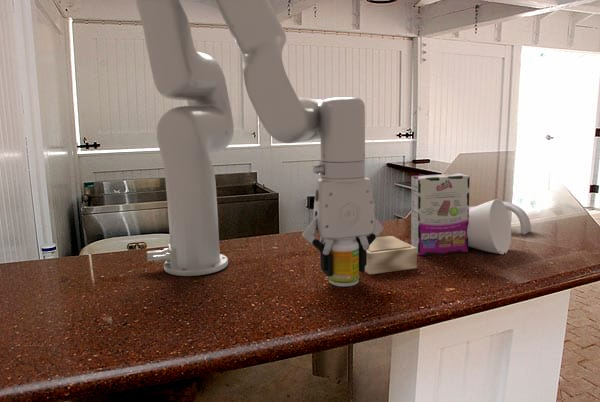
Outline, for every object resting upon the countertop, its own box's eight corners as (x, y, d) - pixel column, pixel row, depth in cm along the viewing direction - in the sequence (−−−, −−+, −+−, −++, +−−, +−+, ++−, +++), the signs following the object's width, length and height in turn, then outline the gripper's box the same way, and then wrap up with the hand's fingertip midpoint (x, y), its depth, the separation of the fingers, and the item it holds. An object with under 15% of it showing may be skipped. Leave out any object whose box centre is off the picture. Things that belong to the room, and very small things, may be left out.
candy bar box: (458, 246, 107) (460, 172, 104) (468, 252, 102) (471, 175, 99) (409, 249, 106) (410, 174, 103) (417, 255, 101) (419, 177, 98)
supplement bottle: (357, 288, 83) (357, 233, 81) (326, 286, 84) (325, 232, 83) (360, 277, 88) (360, 225, 87) (330, 276, 89) (330, 225, 88)
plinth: (369, 274, 90) (369, 252, 89) (348, 259, 99) (347, 239, 99) (416, 268, 93) (417, 247, 92) (391, 254, 102) (391, 234, 102)
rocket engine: (415, 198, 112) (492, 188, 100) (438, 223, 119) (513, 216, 107) (406, 242, 107) (486, 237, 95) (430, 265, 114) (508, 263, 102)
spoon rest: (427, 225, 128) (427, 199, 127) (446, 217, 137) (447, 192, 135) (521, 239, 113) (522, 209, 111) (535, 229, 121) (537, 201, 120)
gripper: (302, 176, 77) (304, 285, 80) (398, 170, 82) (397, 272, 85) (288, 171, 84) (291, 271, 87) (378, 166, 89) (377, 260, 92)
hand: (343, 271), depth 86 cm, fingers closed on supplement bottle, 5 cm apart
